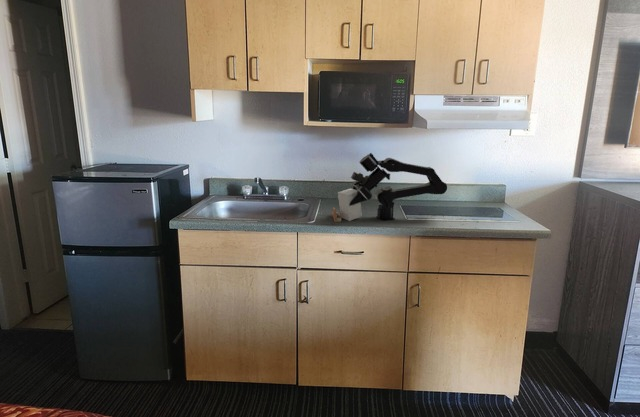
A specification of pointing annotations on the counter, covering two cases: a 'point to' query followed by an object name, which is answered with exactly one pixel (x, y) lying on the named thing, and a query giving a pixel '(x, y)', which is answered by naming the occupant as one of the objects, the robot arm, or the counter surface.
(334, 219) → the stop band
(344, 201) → the supplement box
